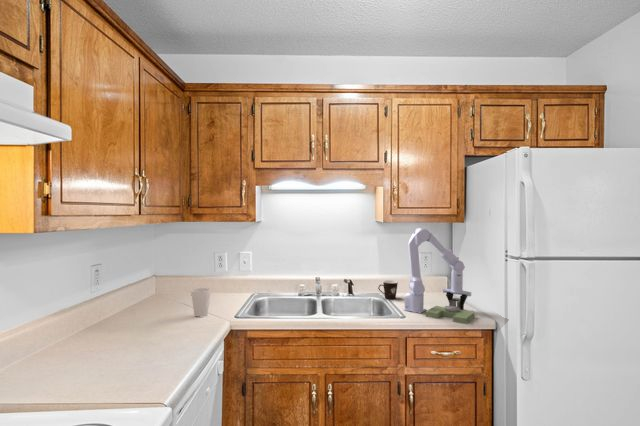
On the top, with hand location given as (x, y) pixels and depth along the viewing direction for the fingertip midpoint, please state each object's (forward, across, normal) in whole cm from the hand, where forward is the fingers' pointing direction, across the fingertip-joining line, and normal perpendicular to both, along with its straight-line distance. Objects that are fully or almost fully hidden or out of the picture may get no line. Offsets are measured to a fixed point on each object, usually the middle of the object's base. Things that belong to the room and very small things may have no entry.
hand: (456, 307), depth 209 cm
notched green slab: (+2, -1, +13) cm, 13 cm away
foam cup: (+2, +99, +90) cm, 134 cm away
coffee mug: (+2, +42, -2) cm, 42 cm away
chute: (+2, 0, 0) cm, 2 cm away
